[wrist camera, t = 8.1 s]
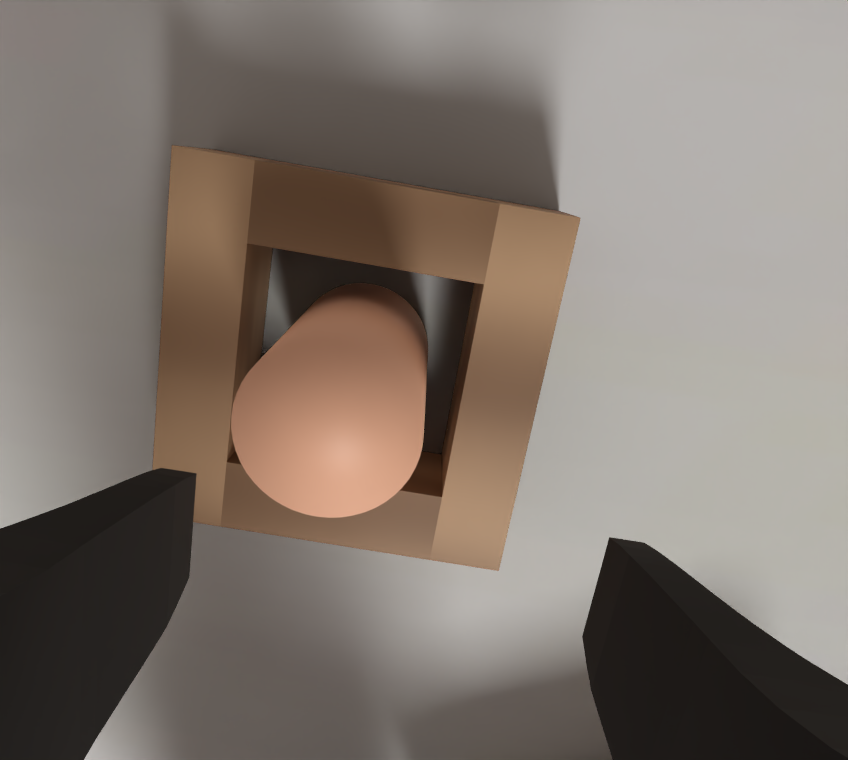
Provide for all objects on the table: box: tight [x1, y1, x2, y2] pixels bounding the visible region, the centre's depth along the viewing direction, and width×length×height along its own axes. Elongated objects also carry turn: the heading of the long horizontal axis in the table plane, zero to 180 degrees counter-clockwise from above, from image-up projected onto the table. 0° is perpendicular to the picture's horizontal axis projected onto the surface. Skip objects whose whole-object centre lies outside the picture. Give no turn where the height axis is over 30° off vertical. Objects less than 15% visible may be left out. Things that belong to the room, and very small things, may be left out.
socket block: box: [152, 145, 580, 571], centre depth 19 cm, size 10×10×3 cm
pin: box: [231, 283, 428, 518], centre depth 18 cm, size 4×4×7 cm
